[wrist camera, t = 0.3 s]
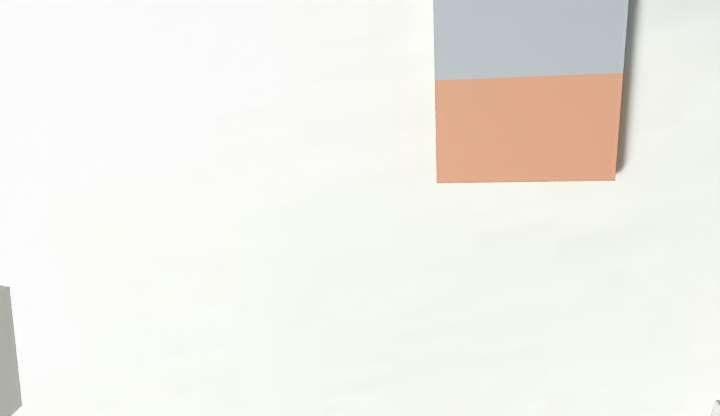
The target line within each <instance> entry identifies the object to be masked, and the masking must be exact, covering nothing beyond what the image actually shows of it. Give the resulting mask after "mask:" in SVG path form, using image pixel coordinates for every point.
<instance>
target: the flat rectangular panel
mask: <svg viewBox="0 0 720 416" xmlns="http://www.w3.org/2000/svg"><path fill="white" fill-rule="evenodd" d="M628 3H629V0H433V6H434V58H435V110H436V162H437V183H480V182H548V181H615V174H616V161H617V148H618V135H619V121H620V108H621V95H622V82H623V69H624V56H625V43H626V30H627V16H628Z"/></svg>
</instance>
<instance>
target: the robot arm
mask: <svg viewBox="0 0 720 416" xmlns="http://www.w3.org/2000/svg"><path fill="white" fill-rule="evenodd" d="M20 406H22V401H21V392H20V383H19V373H18V364H17V355H16V345H15V336H14V327H13V317H12V308H11V298H10V289H9V287H6V286H0V416H11V415H12V414H13V413H14V412H15V411H16V410H17V409H18V408H19V407H20ZM711 416H720V401H719V400H716V402H715V404H714V407H713V410H712V413H711Z"/></svg>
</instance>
